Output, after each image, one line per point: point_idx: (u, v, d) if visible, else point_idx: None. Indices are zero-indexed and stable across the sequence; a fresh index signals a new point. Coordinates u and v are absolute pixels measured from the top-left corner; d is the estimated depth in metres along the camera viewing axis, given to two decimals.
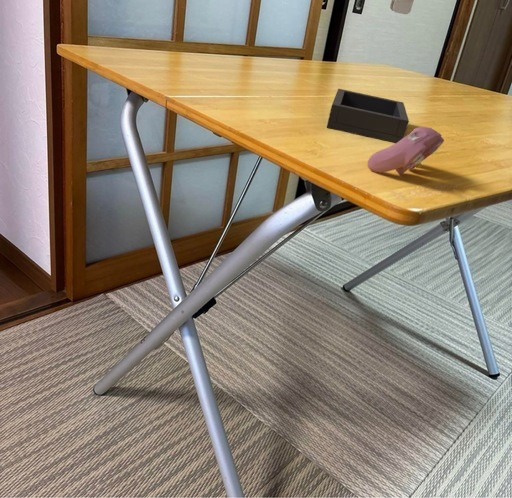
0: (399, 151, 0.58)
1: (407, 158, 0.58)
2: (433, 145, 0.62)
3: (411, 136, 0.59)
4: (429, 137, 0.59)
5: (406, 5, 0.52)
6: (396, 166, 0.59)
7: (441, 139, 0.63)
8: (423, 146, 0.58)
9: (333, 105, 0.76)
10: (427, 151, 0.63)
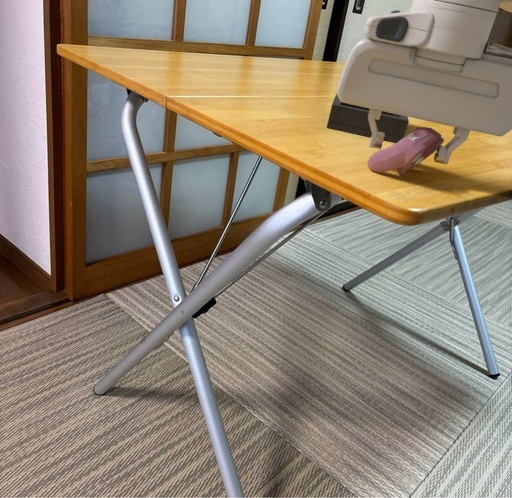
0: (399, 151, 0.58)
1: (407, 158, 0.58)
2: (433, 145, 0.62)
3: (411, 136, 0.59)
4: (429, 137, 0.59)
5: None
6: (396, 166, 0.59)
7: (441, 139, 0.63)
8: (423, 146, 0.58)
9: (333, 105, 0.76)
10: (427, 151, 0.62)
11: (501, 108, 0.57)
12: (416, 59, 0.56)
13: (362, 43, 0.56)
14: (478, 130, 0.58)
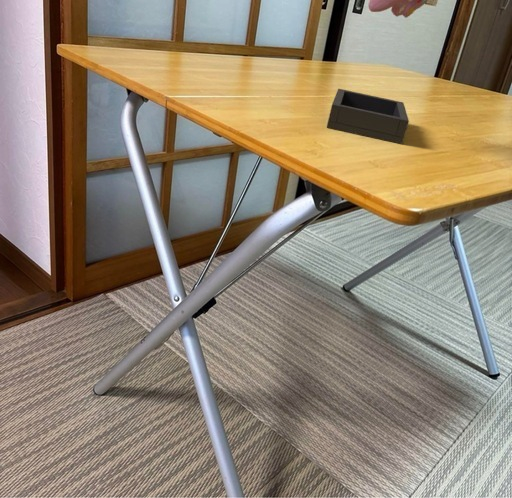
0: None
1: None
2: None
3: None
4: None
5: None
6: (392, 2, 0.70)
7: None
8: None
9: (333, 105, 0.76)
10: None
11: None
12: None
13: None
14: None
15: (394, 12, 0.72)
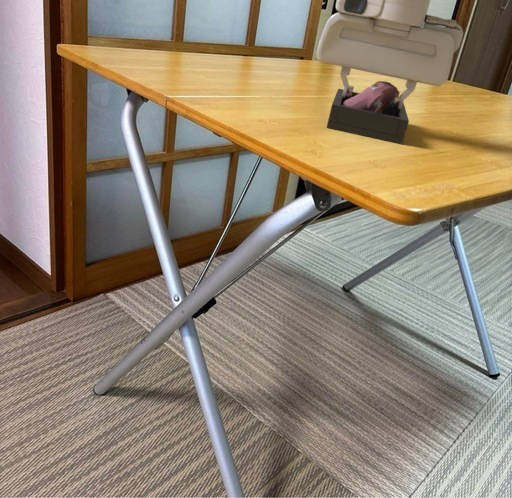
0: (363, 97, 0.78)
1: (368, 103, 0.77)
2: (390, 95, 0.81)
3: (372, 86, 0.78)
4: (386, 87, 0.78)
5: None
6: None
7: (397, 91, 0.82)
8: (381, 93, 0.77)
9: (333, 105, 0.76)
10: (386, 100, 0.82)
11: (438, 64, 0.76)
12: (374, 27, 0.75)
13: (334, 16, 0.75)
14: (422, 81, 0.77)
15: None
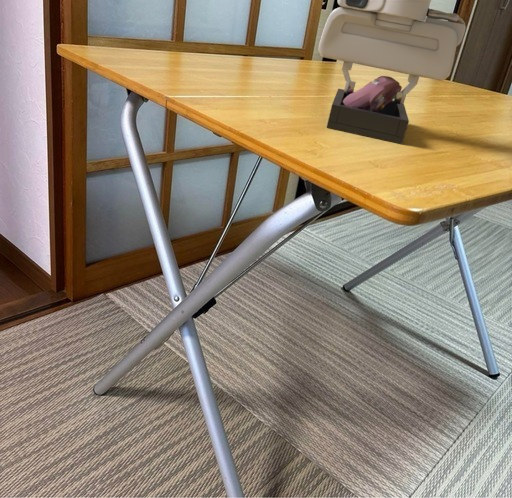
0: (365, 92, 0.77)
1: (371, 98, 0.77)
2: (393, 90, 0.81)
3: (374, 81, 0.77)
4: (388, 82, 0.78)
5: None
6: (363, 104, 0.78)
7: (399, 86, 0.81)
8: (383, 88, 0.77)
9: (333, 105, 0.76)
10: (388, 95, 0.81)
11: (440, 58, 0.76)
12: (376, 21, 0.75)
13: (336, 10, 0.75)
14: (425, 76, 0.77)
15: None
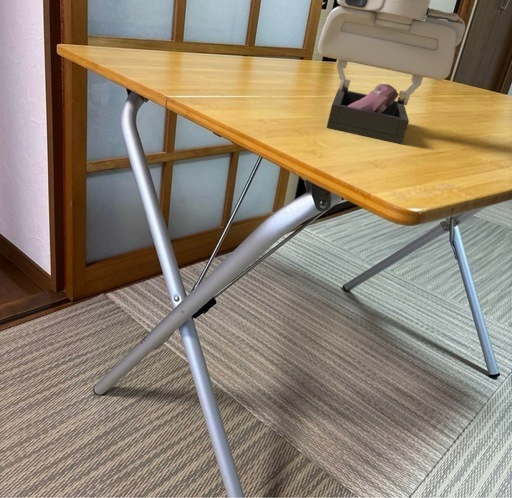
0: (368, 102, 0.77)
1: (374, 107, 0.77)
2: (391, 98, 0.81)
3: (376, 90, 0.77)
4: (389, 91, 0.78)
5: None
6: None
7: (396, 93, 0.82)
8: (386, 97, 0.77)
9: (333, 105, 0.76)
10: (387, 103, 0.82)
11: (440, 58, 0.76)
12: (376, 21, 0.75)
13: (335, 9, 0.75)
14: (424, 75, 0.77)
15: None
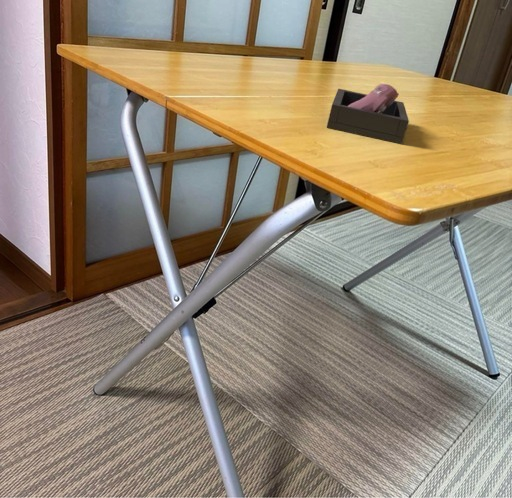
0: (368, 102, 0.77)
1: (374, 107, 0.77)
2: (391, 98, 0.81)
3: (376, 90, 0.77)
4: (389, 90, 0.78)
5: None
6: None
7: (396, 93, 0.82)
8: (386, 97, 0.77)
9: (333, 105, 0.76)
10: (387, 103, 0.82)
11: None
12: None
13: None
14: None
15: None
